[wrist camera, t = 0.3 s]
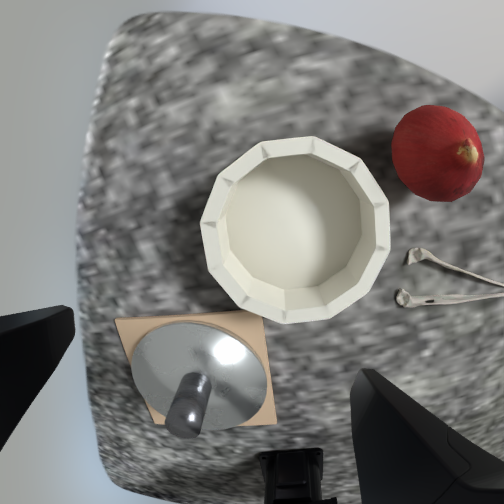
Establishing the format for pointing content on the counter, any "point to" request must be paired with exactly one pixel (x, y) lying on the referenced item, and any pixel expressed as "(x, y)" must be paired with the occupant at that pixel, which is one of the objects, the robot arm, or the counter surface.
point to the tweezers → (414, 301)
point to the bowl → (296, 230)
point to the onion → (437, 153)
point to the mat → (235, 321)
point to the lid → (199, 376)
